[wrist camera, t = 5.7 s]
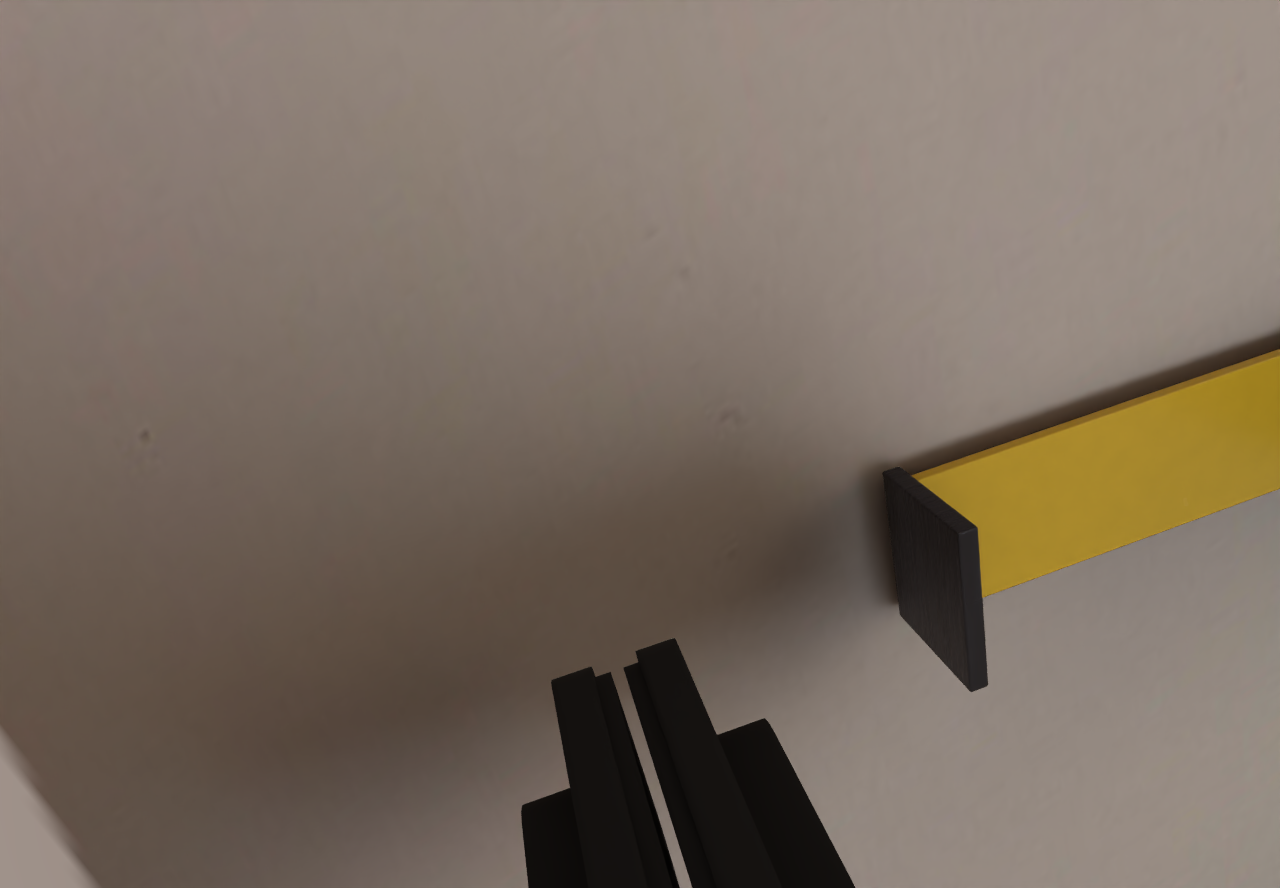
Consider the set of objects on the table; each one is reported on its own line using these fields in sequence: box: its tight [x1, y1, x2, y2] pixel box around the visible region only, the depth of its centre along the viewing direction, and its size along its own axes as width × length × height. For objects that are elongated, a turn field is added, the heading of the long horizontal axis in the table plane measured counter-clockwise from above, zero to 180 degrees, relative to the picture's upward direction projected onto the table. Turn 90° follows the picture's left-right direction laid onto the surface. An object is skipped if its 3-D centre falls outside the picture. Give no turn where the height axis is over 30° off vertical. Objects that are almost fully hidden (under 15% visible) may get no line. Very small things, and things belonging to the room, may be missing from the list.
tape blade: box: [883, 349, 1280, 692], centre depth 13 cm, size 10×3×2 cm, turn 104°
